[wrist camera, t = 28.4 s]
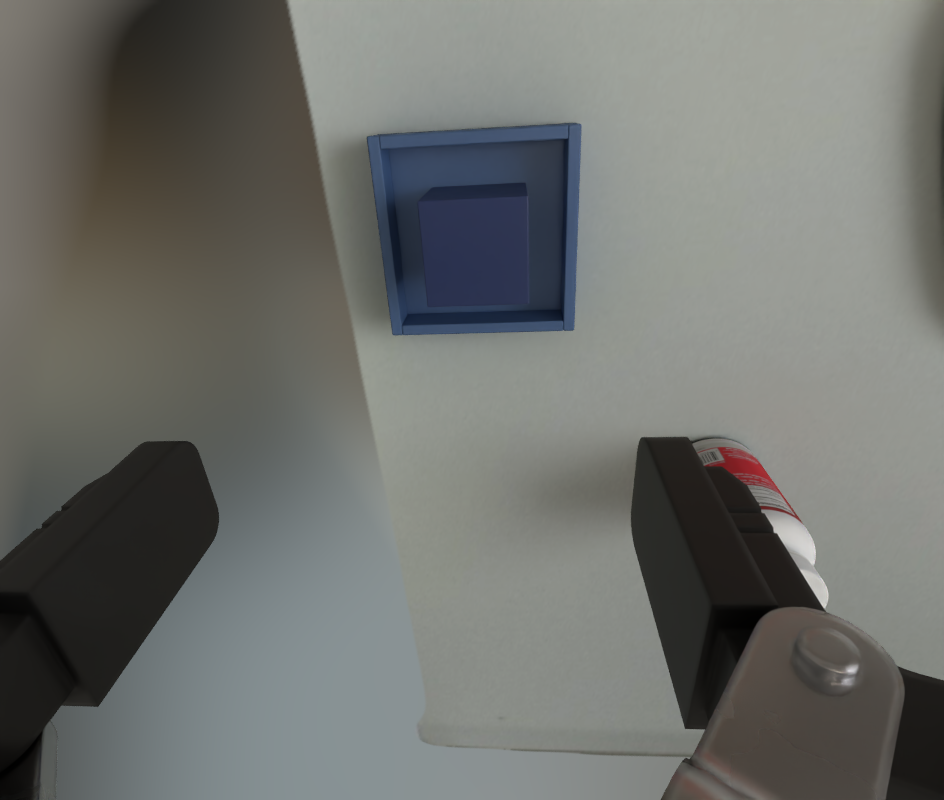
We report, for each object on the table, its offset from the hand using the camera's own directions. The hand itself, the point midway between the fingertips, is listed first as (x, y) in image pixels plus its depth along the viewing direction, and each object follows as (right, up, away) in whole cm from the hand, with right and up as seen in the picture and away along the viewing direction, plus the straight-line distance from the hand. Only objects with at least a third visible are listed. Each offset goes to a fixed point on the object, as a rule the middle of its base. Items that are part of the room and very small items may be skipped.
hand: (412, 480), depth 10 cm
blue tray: (+2, +11, +20) cm, 23 cm away
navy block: (+2, +11, +20) cm, 23 cm away
